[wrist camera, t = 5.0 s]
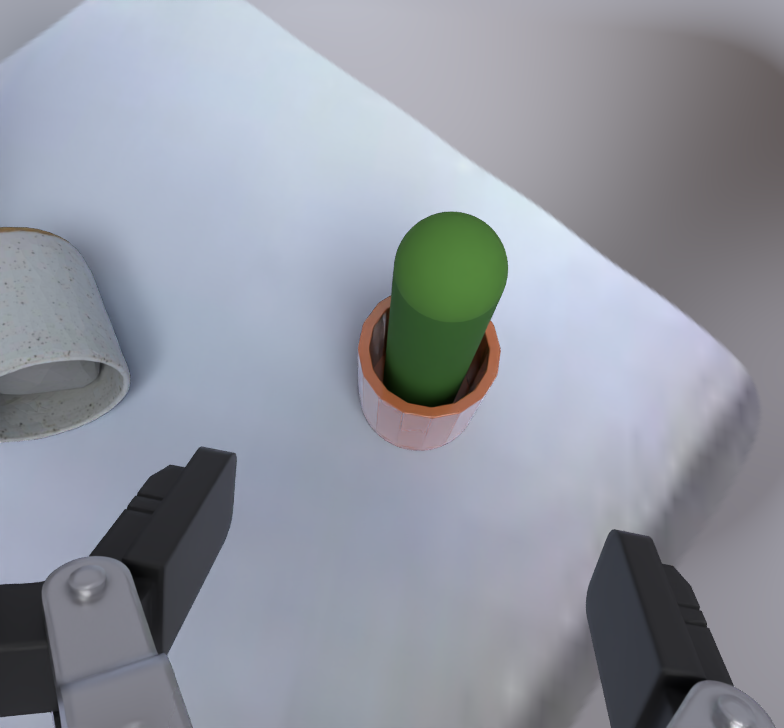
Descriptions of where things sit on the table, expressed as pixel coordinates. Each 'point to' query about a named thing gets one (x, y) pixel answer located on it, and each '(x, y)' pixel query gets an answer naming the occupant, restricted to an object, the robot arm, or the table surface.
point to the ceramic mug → (53, 339)
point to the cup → (413, 421)
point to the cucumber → (441, 305)
